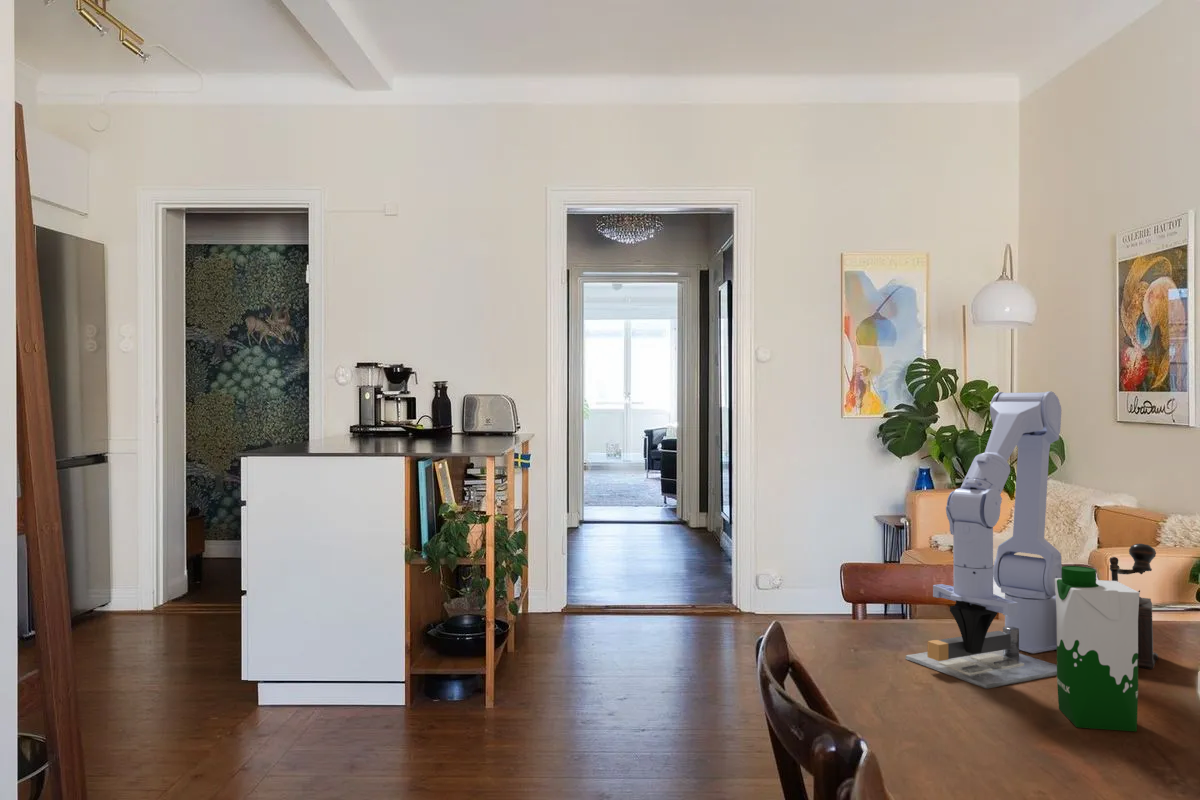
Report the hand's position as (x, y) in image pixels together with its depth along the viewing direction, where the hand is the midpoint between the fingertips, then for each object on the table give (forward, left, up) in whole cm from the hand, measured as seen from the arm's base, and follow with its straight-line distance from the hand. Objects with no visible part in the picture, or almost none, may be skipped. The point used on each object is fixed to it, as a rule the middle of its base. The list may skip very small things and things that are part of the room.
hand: (973, 652), depth 132 cm
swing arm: (-2, -2, -1) cm, 3 cm away
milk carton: (+2, +22, -3) cm, 22 cm away
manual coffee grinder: (-30, +3, -3) cm, 31 cm away
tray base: (-4, -1, -3) cm, 5 cm away
